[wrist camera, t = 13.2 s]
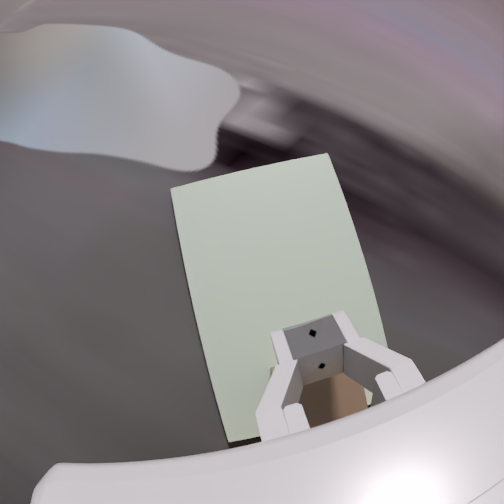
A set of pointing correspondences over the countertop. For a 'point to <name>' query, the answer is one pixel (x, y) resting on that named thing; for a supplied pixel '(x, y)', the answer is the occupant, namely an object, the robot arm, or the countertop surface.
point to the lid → (272, 280)
